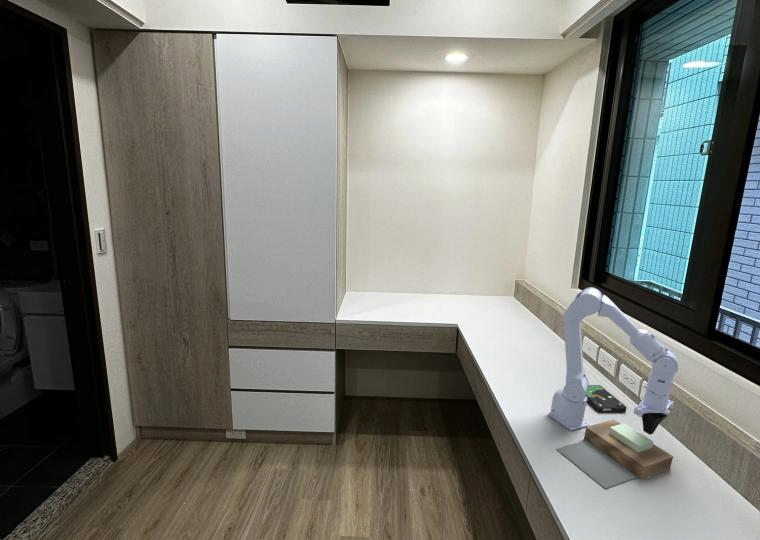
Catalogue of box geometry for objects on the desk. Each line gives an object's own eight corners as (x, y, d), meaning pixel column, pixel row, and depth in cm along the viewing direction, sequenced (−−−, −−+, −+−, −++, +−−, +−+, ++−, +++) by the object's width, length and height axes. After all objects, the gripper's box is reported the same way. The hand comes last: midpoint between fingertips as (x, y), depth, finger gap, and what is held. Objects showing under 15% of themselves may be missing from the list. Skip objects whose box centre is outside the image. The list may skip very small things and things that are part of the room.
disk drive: (626, 414, 138) (598, 390, 153) (627, 407, 138) (600, 384, 152) (598, 414, 137) (573, 391, 151) (599, 407, 136) (574, 384, 151)
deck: (583, 438, 123) (586, 427, 122) (611, 430, 128) (613, 419, 127) (641, 479, 107) (644, 466, 106) (670, 468, 112) (673, 456, 111)
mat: (556, 449, 117) (556, 448, 117) (585, 440, 122) (586, 439, 122) (605, 489, 103) (605, 488, 103) (636, 477, 108) (637, 476, 108)
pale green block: (608, 433, 120) (610, 427, 119) (622, 429, 122) (623, 423, 121) (638, 452, 112) (639, 446, 111) (652, 447, 114) (653, 441, 113)
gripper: (655, 402, 110) (645, 446, 113) (688, 393, 116) (677, 435, 119) (630, 389, 116) (621, 431, 119) (663, 381, 122) (653, 421, 125)
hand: (648, 432), depth 120 cm, fingers closed
